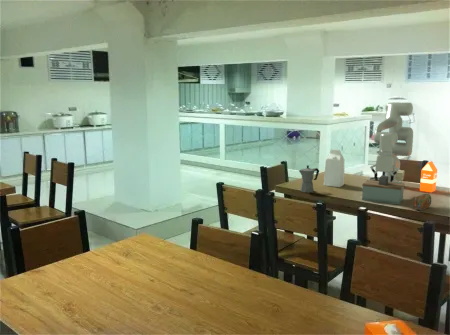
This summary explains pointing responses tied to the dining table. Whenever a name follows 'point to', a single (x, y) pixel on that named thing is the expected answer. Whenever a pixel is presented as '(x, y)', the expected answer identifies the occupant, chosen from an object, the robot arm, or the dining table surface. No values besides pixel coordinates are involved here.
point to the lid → (383, 183)
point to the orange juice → (428, 178)
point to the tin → (422, 202)
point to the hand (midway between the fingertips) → (383, 180)
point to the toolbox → (383, 194)
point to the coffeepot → (308, 179)
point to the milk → (334, 169)
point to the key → (399, 175)
